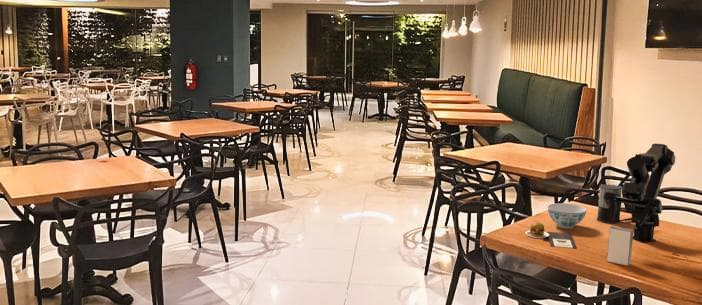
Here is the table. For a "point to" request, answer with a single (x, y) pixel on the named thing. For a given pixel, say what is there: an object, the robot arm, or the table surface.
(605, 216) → the milk frother
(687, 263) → the table surface
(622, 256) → the ceramic tile
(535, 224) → the hamburger
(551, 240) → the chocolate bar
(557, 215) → the chinaware
